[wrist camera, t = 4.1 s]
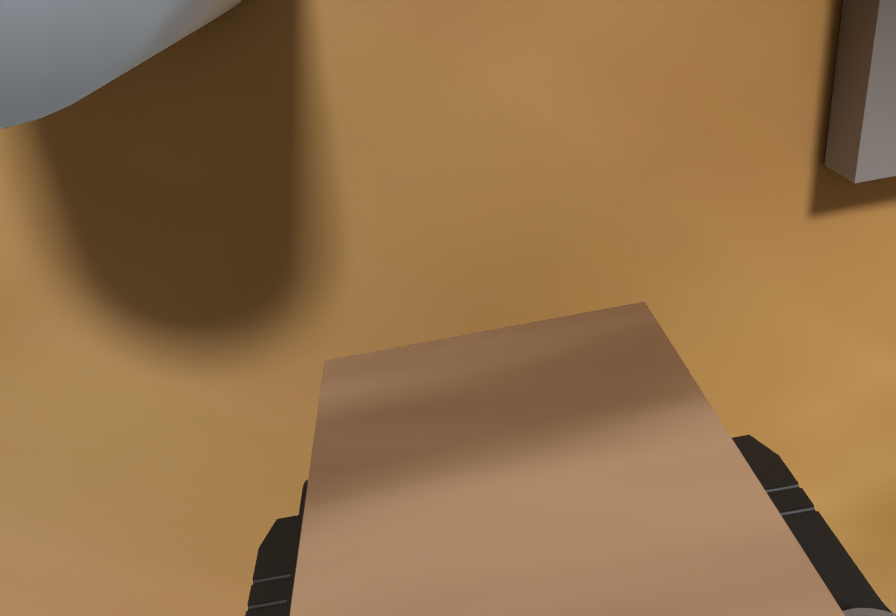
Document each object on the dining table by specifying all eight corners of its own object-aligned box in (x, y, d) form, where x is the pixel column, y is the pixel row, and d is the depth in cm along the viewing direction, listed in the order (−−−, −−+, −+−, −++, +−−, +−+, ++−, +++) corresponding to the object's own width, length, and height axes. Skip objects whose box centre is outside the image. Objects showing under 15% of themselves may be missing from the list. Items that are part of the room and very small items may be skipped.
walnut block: (324, 361, 11) (264, 796, 5) (644, 301, 10) (890, 689, 5) (392, 569, 13) (395, 997, 8) (650, 523, 13) (819, 928, 8)
